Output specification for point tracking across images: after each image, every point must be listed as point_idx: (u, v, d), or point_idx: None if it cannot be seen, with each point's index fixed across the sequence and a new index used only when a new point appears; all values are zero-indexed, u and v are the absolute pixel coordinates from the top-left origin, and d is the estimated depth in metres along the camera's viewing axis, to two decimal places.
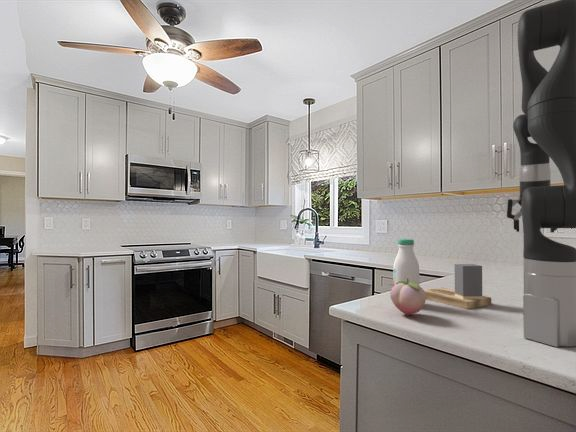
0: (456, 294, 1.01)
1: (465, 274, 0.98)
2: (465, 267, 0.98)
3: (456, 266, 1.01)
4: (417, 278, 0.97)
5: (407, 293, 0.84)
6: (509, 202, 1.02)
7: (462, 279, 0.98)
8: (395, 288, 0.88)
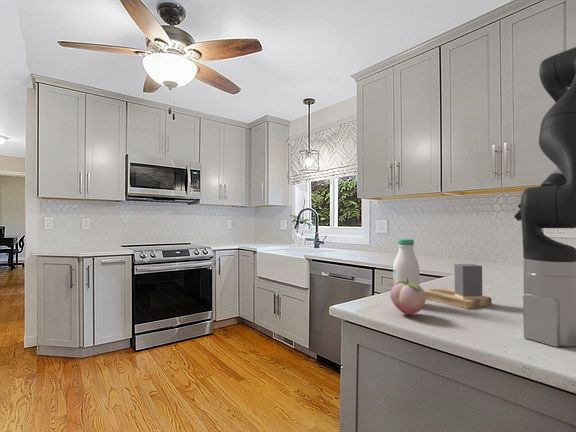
0: (456, 294, 1.01)
1: (465, 274, 0.98)
2: (465, 267, 0.98)
3: (456, 266, 1.01)
4: (417, 278, 0.97)
5: (407, 293, 0.84)
6: None
7: (462, 279, 0.98)
8: (395, 288, 0.88)
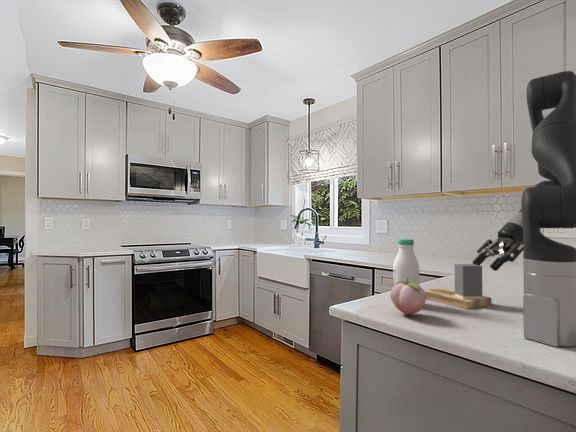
0: (456, 294, 1.01)
1: (465, 274, 0.98)
2: (465, 267, 0.98)
3: (456, 266, 1.01)
4: (417, 278, 0.97)
5: (407, 293, 0.84)
6: (487, 241, 1.07)
7: (462, 279, 0.98)
8: (395, 288, 0.88)
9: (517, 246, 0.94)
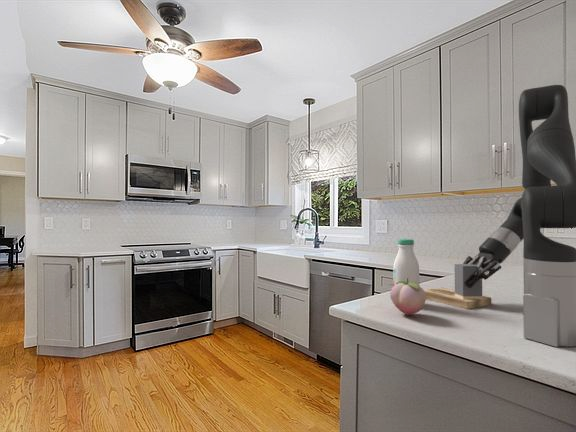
0: (456, 294, 1.01)
1: (465, 274, 0.98)
2: (465, 267, 0.98)
3: (456, 266, 1.01)
4: (417, 278, 0.97)
5: (407, 293, 0.84)
6: (467, 258, 1.06)
7: (462, 279, 0.98)
8: (395, 288, 0.88)
9: (493, 265, 0.94)
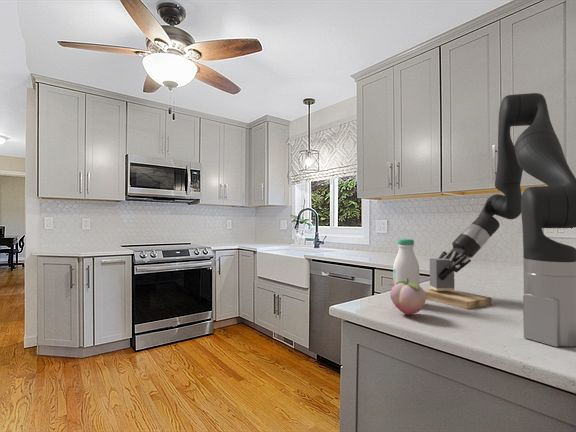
0: (431, 286, 1.09)
1: (438, 267, 1.06)
2: (438, 261, 1.06)
3: (431, 260, 1.09)
4: (417, 278, 0.97)
5: (407, 293, 0.84)
6: (442, 253, 1.15)
7: (436, 272, 1.06)
8: (395, 288, 0.88)
9: (463, 259, 1.02)
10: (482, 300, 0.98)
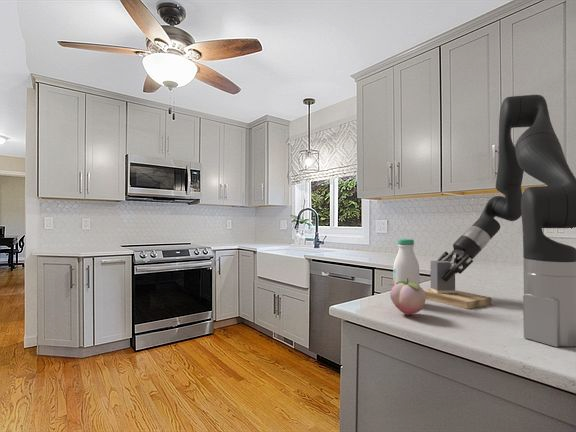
0: (432, 288, 1.09)
1: (439, 270, 1.06)
2: (439, 263, 1.06)
3: (432, 262, 1.09)
4: (417, 278, 0.97)
5: (407, 293, 0.84)
6: (444, 253, 1.15)
7: (436, 274, 1.06)
8: (395, 288, 0.88)
9: (465, 259, 1.02)
10: (482, 300, 0.98)
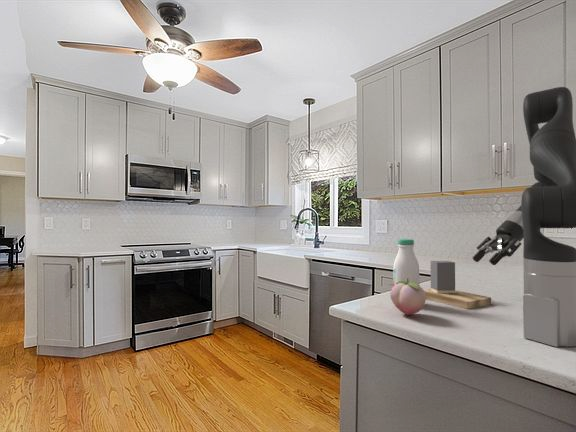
0: (432, 288, 1.09)
1: (439, 270, 1.06)
2: (439, 263, 1.06)
3: (432, 262, 1.09)
4: (417, 278, 0.97)
5: (407, 293, 0.84)
6: (486, 238, 1.14)
7: (436, 274, 1.06)
8: (395, 288, 0.88)
9: (514, 242, 1.01)
10: (482, 300, 0.98)
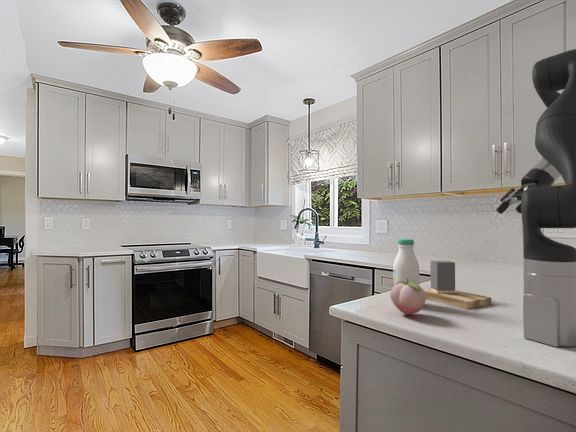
0: (432, 288, 1.09)
1: (439, 270, 1.06)
2: (439, 263, 1.06)
3: (432, 262, 1.09)
4: (417, 278, 0.97)
5: (407, 293, 0.84)
6: (510, 190, 1.10)
7: (436, 274, 1.06)
8: (395, 288, 0.88)
9: None
10: (482, 300, 0.98)
